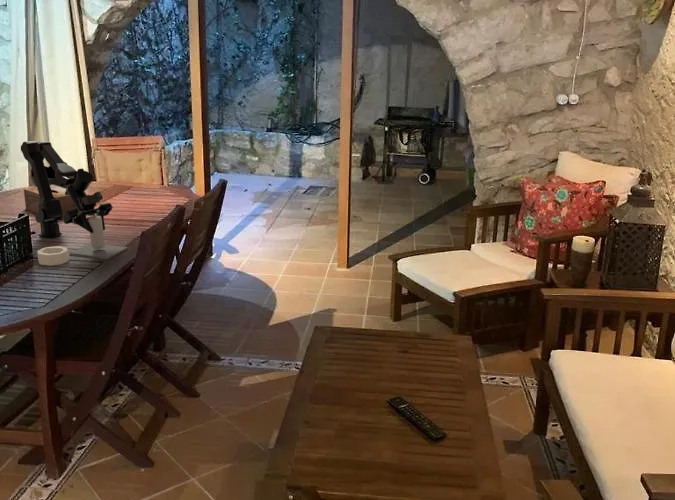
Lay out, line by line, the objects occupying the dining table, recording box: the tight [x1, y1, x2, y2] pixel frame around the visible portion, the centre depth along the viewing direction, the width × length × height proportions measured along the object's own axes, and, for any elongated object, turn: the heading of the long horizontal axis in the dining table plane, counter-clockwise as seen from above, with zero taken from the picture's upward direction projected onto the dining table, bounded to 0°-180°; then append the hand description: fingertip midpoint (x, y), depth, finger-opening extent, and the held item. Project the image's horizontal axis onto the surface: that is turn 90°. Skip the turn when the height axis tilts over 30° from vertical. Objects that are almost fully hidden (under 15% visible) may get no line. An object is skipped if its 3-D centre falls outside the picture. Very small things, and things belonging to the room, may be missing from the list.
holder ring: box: [36, 245, 70, 267], centre depth 249 cm, size 10×10×4 cm
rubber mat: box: [69, 242, 128, 260], centre depth 261 cm, size 16×14×1 cm
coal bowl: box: [30, 161, 69, 188], centre depth 347 cm, size 20×20×19 cm
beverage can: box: [87, 215, 106, 249], centre depth 258 cm, size 5×5×12 cm
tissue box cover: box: [23, 185, 76, 219], centre depth 316 cm, size 26×14×10 cm, turn 50°
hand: (98, 231), depth 257 cm, fingers closed on beverage can, 5 cm apart
